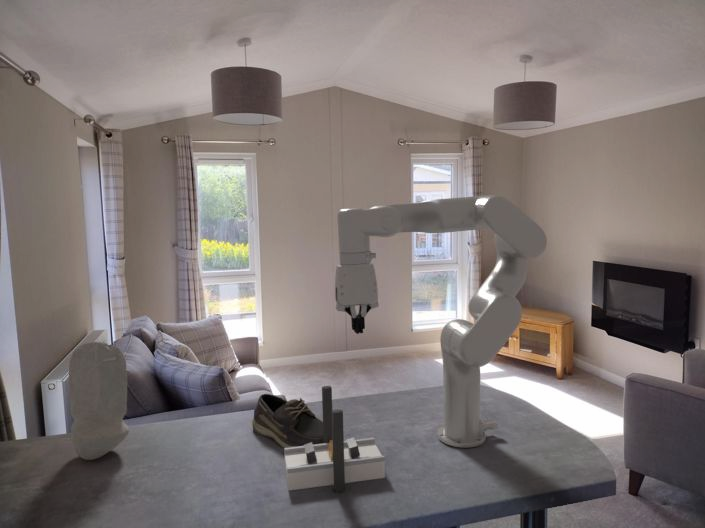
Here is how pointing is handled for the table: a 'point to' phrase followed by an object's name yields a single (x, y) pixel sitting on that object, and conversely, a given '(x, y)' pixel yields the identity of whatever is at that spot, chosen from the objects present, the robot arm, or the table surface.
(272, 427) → the boat shoe
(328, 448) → the rectangular block
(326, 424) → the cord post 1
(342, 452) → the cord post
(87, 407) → the sculpture
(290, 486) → the breaker panel
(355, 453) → the grey block
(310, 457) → the grey block
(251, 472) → the table surface
